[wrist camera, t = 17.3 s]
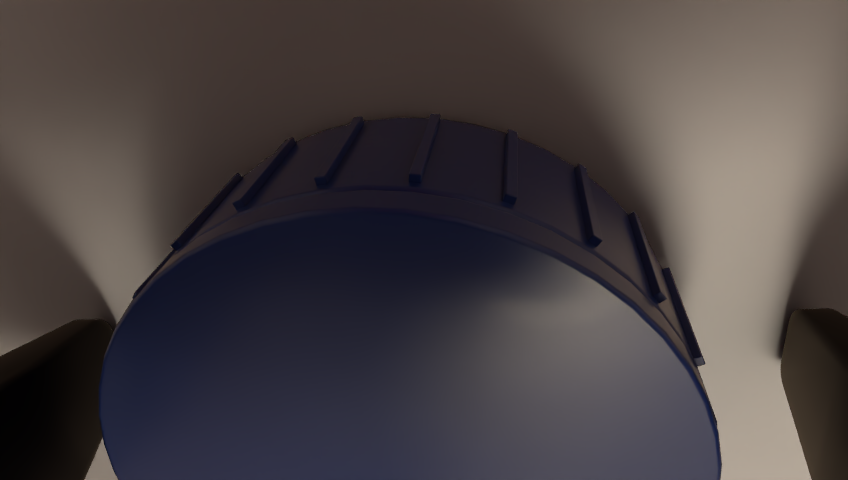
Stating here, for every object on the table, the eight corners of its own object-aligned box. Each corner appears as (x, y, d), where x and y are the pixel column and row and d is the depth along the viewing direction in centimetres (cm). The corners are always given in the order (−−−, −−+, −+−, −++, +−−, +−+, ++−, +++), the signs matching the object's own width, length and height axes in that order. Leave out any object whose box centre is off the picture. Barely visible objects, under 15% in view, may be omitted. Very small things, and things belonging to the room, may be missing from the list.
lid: (504, -12, 6) (498, 42, 4) (761, 421, 9) (833, 584, 7) (90, 271, 9) (-33, 387, 7) (375, 553, 11) (343, 702, 9)
